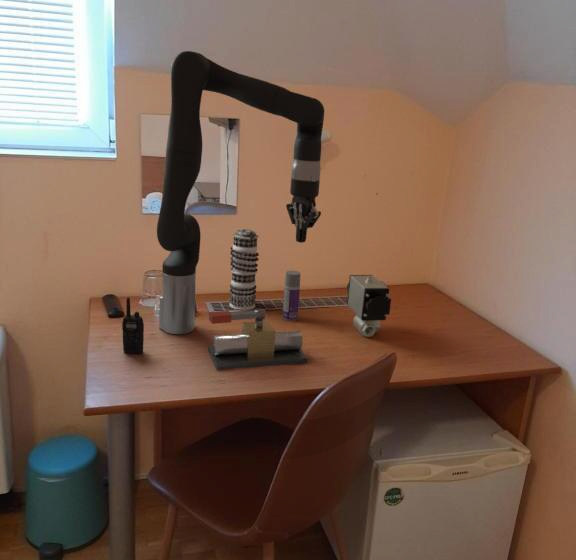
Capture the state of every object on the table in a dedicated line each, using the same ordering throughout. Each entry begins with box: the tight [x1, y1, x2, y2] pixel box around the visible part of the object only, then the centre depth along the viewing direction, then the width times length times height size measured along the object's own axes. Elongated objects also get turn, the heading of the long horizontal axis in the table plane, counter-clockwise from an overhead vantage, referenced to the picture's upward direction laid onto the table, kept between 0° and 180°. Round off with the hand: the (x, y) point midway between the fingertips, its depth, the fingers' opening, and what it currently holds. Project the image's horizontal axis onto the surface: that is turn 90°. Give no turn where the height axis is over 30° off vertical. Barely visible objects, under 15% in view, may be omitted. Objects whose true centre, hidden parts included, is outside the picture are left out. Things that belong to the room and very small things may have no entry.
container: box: [282, 270, 301, 322], centre depth 182 cm, size 5×5×15 cm
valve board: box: [207, 319, 309, 371], centre depth 154 cm, size 24×12×11 cm, turn 107°
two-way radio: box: [121, 297, 145, 355], centre depth 151 cm, size 6×4×15 cm
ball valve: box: [346, 274, 392, 338], centre depth 175 cm, size 18×8×18 cm, turn 14°
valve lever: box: [208, 308, 267, 325], centre depth 150 cm, size 14×3×2 cm, turn 112°
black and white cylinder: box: [228, 228, 260, 311], centre depth 189 cm, size 9×9×25 cm
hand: (300, 241), depth 159 cm, fingers closed
